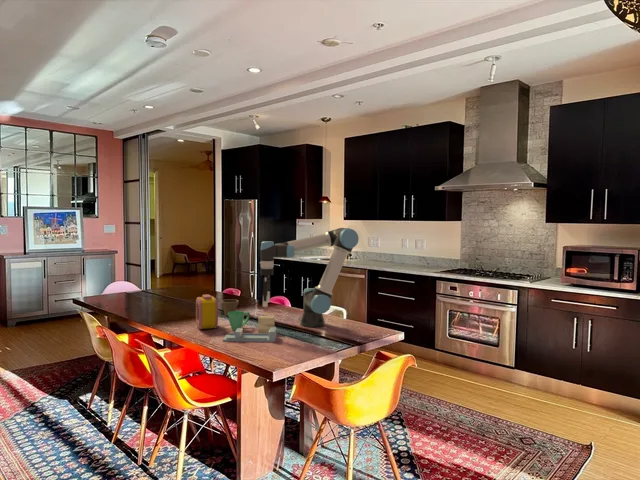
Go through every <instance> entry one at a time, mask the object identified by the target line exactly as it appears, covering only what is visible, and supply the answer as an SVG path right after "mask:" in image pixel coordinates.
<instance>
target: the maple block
mask: <svg viewBox="0 0 640 480" xmlns="http://www.w3.org/2000/svg"><path fill="white" fill-rule="evenodd" d="M257 323H258V324H257V333H269V330H270V329H271V327H275V324H276V323H275V316H263V315H262V316H258V319H257Z"/></svg>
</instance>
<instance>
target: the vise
mask: <svg viewBox="0 0 640 480" xmlns="http://www.w3.org/2000/svg"><path fill="white" fill-rule="evenodd" d="M276 340H277V327H276V326H274V327H271V329H270V330H269V333H258V332H247V333H245V332H243V334H242V336H241V337H240V338H235V332H229V334H225V336H224V338H223V339H222V342H234V341H236V342H237V343H238V342H250V343H252V342H255V343H259V342H260V343H261V342H262V343H270V342H271V343H275V342H276Z"/></svg>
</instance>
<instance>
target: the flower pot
mask: <svg viewBox="0 0 640 480" xmlns="http://www.w3.org/2000/svg"><path fill="white" fill-rule="evenodd" d="M221 305H222V308H223V309H222V310H223V313H224V316H225V317H228V312H231V311H237V306H238V305H239V300H238V299H235V298H233V299H231V298H230V299H229V298H228V299H222V300H221Z"/></svg>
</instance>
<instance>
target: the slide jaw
mask: <svg viewBox="0 0 640 480" xmlns="http://www.w3.org/2000/svg"><path fill="white" fill-rule="evenodd" d="M243 331H244V330H243V327H241V328H237V330H234V333H235V338H240V337H241V336H242V334H243V333H244V332H243Z"/></svg>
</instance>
